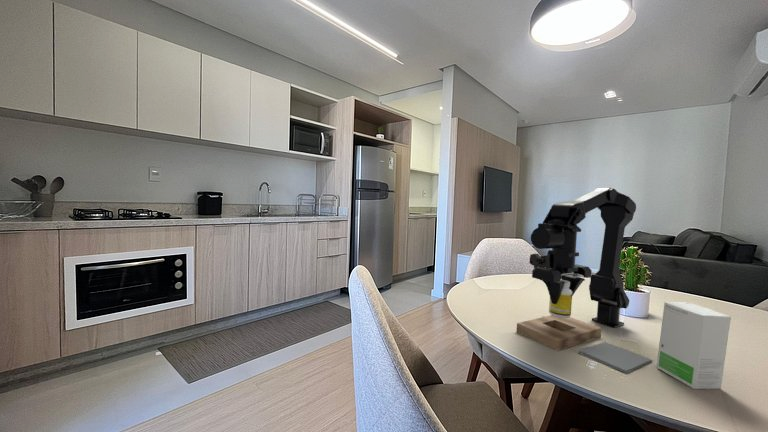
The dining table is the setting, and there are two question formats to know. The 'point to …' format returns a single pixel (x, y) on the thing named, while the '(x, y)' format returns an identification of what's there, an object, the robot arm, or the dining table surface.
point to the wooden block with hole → (558, 331)
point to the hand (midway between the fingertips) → (560, 302)
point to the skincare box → (693, 344)
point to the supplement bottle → (562, 303)
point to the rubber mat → (615, 357)
